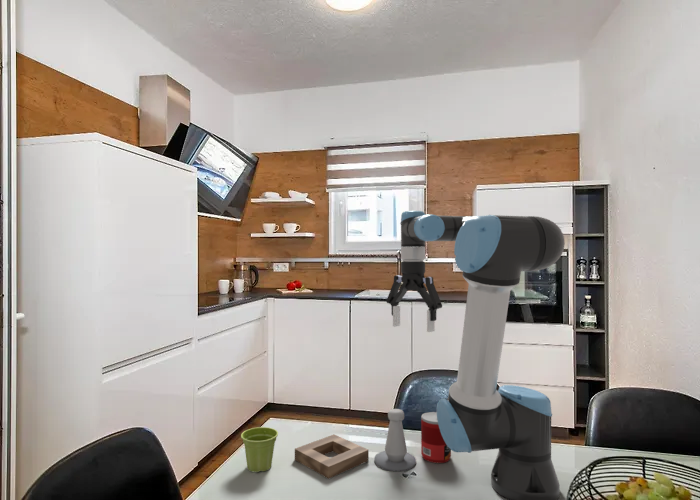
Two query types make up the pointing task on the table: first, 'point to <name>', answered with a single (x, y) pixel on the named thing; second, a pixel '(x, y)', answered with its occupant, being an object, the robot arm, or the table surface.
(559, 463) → the table surface
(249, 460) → the plant pot
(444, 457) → the canned food
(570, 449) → the table surface
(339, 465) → the collar block
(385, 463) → the coaster
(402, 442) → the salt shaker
